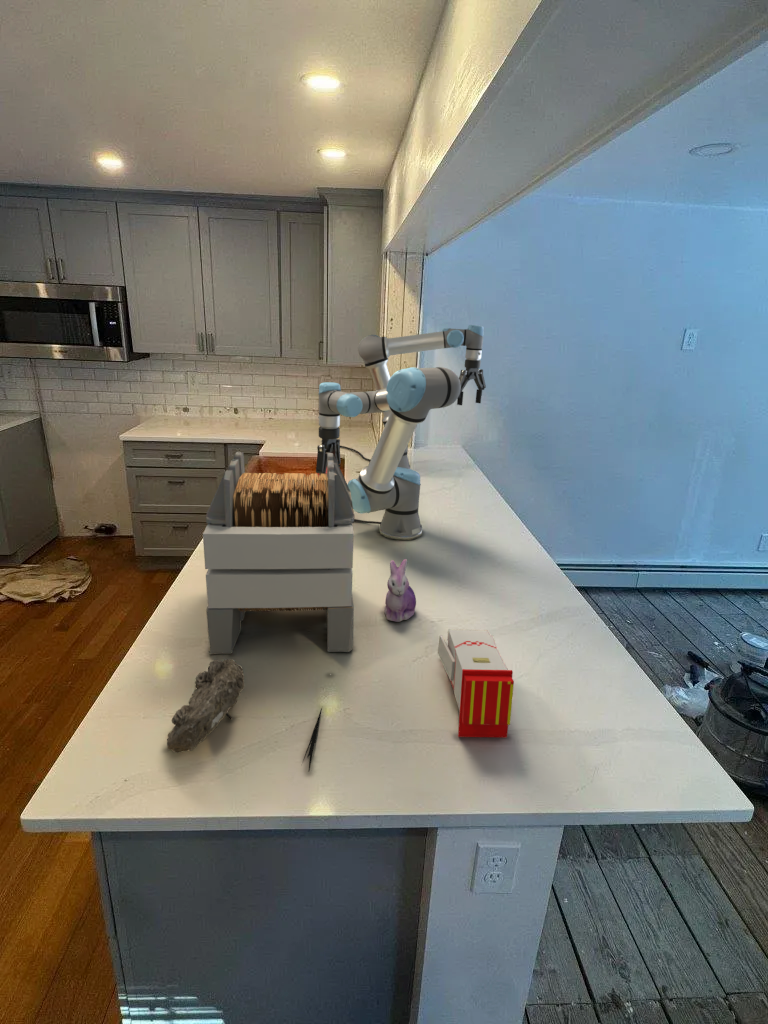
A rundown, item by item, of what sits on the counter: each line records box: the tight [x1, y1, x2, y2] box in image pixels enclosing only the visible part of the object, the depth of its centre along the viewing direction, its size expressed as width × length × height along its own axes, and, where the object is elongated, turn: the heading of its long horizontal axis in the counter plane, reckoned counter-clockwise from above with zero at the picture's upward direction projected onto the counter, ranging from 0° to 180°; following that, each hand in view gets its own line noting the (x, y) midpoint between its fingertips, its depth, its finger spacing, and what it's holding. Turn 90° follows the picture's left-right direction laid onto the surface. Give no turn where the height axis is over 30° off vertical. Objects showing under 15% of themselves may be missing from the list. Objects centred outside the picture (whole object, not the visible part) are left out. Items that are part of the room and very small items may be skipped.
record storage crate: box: [202, 451, 355, 655], centre depth 137 cm, size 34×33×41 cm
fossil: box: [166, 658, 245, 754], centre depth 106 cm, size 22×10×15 cm
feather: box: [301, 673, 332, 771], centre depth 108 cm, size 2×28×2 cm
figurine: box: [384, 558, 417, 623], centre depth 145 cm, size 9×10×15 cm
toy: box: [437, 628, 515, 738], centre depth 117 cm, size 12×13×30 cm
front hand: (328, 487), depth 211 cm, fingers closed on tin, 8 cm apart
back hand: (468, 404), depth 278 cm, fingers open, 13 cm apart
